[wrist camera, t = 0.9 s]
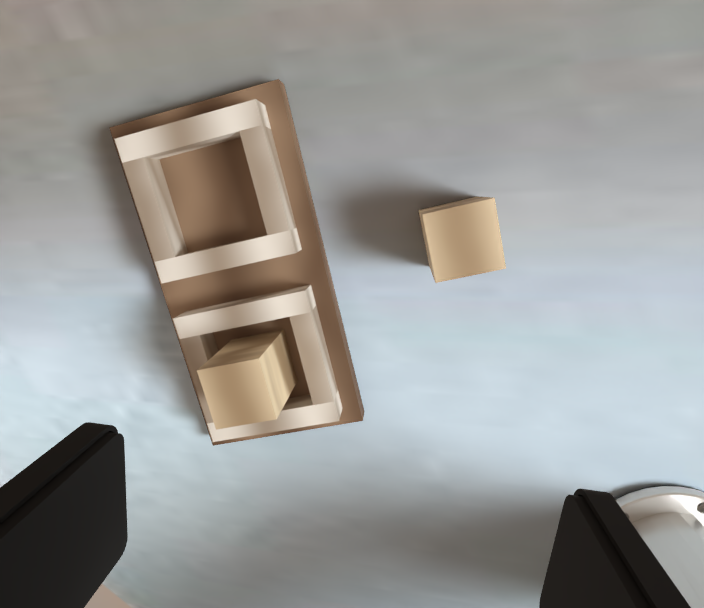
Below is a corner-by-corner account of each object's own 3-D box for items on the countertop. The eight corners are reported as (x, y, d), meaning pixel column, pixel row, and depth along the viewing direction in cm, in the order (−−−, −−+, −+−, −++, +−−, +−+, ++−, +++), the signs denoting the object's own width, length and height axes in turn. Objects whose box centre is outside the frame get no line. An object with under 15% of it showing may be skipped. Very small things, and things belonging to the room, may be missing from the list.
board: (283, 84, 31) (248, 51, 24) (364, 411, 36) (355, 467, 28) (122, 130, 33) (42, 113, 25) (220, 435, 38) (176, 494, 30)
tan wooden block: (477, 196, 31) (494, 197, 25) (486, 254, 32) (505, 268, 26) (418, 210, 32) (422, 214, 26) (429, 266, 33) (435, 282, 27)
